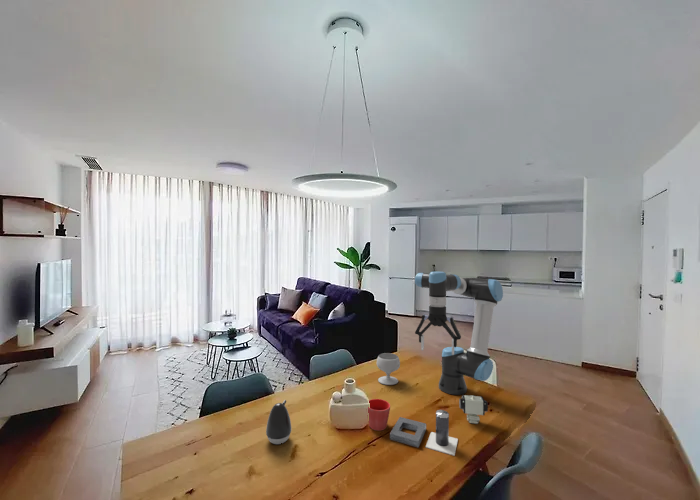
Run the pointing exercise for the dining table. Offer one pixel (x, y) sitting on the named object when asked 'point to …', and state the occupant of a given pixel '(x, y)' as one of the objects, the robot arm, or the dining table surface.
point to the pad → (445, 449)
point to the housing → (406, 437)
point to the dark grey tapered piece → (278, 424)
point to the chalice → (388, 367)
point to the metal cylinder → (442, 427)
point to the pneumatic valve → (473, 407)
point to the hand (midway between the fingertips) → (437, 351)
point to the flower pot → (378, 414)
